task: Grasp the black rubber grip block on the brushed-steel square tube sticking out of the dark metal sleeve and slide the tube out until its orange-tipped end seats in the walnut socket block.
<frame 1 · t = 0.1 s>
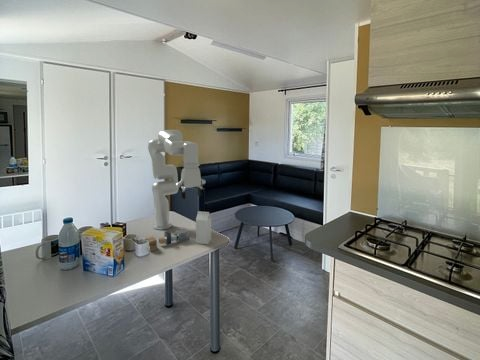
hand: (191, 197, 150), 31 cm above the table, fingers open, 9 cm apart
sleeve: (182, 240, 169), on the table
socket block: (151, 248, 158), on the table
tube: (173, 236, 165), point 4 cm above the table, slide at 0.0 cm
milk carton: (203, 241, 168), on the table
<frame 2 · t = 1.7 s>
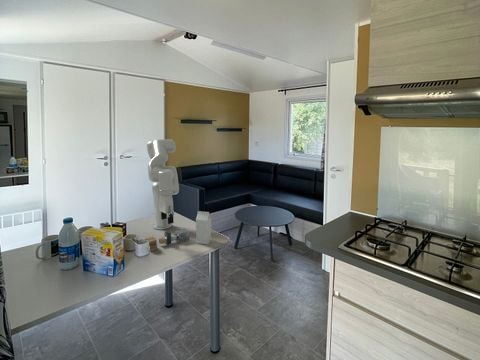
hand: (167, 221, 160), 14 cm above the table, fingers open, 9 cm apart
nothing on the table moved.
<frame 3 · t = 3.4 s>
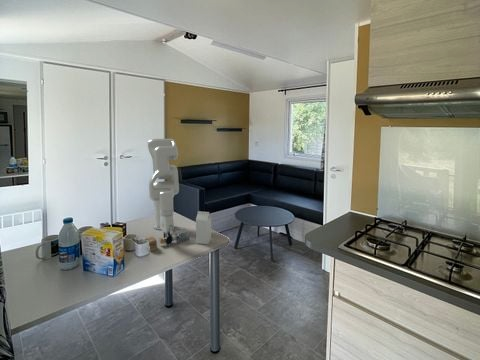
hand: (168, 241, 163), 2 cm above the table, fingers closed on tube, 3 cm apart
tube: (173, 236, 165), point 4 cm above the table, slide at 0.0 cm, touching gripper
everything else where it was.
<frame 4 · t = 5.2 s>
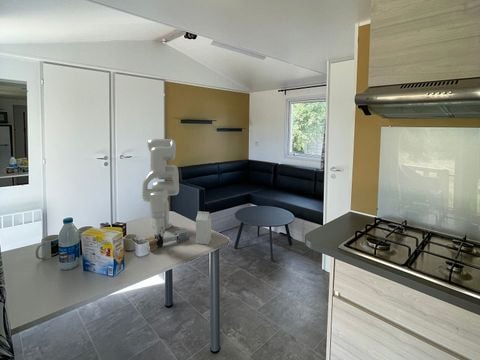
hand: (159, 243, 160), 2 cm above the table, fingers closed on tube, 3 cm apart
tube: (164, 238, 162), point 4 cm above the table, slide at 5.5 cm, touching gripper
everything else where it was.
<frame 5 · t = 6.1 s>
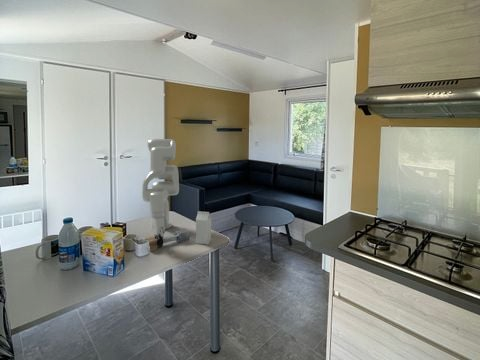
hand: (158, 243, 160), 2 cm above the table, fingers closed on tube, 3 cm apart
tube: (164, 238, 162), point 4 cm above the table, slide at 5.5 cm, touching gripper
everything else where it was.
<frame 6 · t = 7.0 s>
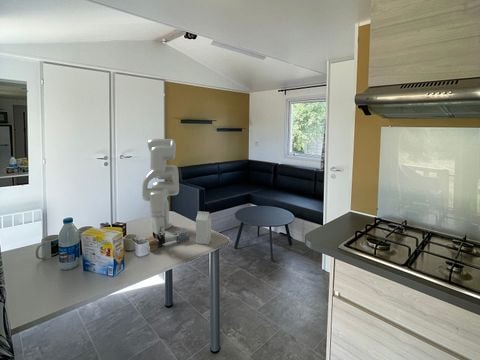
hand: (158, 241, 160), 3 cm above the table, fingers open, 9 cm apart
tube: (164, 238, 162), point 4 cm above the table, slide at 5.5 cm
everything else where it was.
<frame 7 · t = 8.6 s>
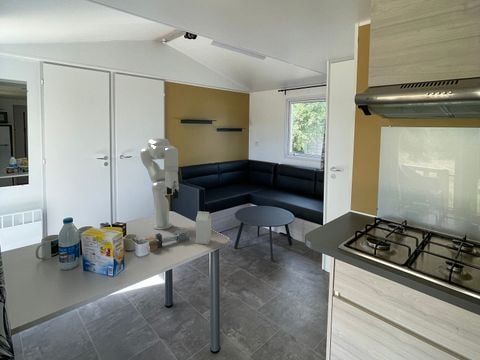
hand: (172, 196, 167), 27 cm above the table, fingers open, 9 cm apart
nothing on the table moved.
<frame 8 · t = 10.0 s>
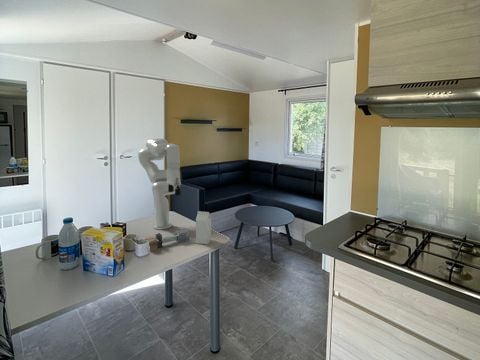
hand: (174, 193, 168), 28 cm above the table, fingers open, 9 cm apart
nothing on the table moved.
at the end: tube slide at 5.5 cm; the gripper is holding nothing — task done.
